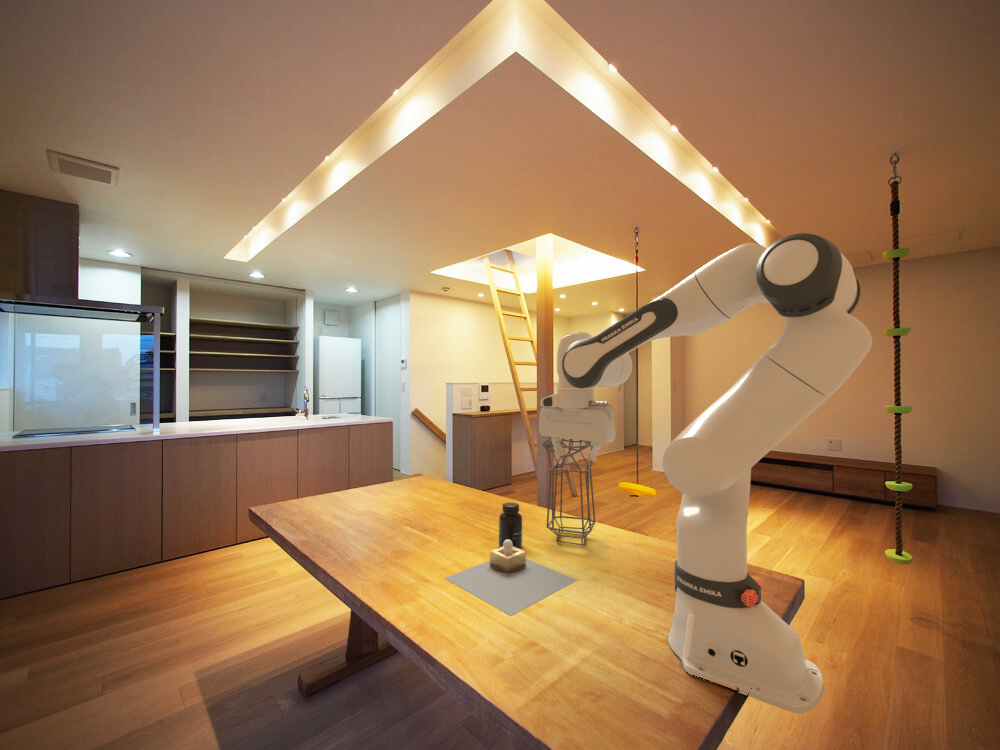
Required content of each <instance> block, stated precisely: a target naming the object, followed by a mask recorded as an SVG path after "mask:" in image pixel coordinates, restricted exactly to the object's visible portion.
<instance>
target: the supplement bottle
mask: <svg viewBox="0 0 1000 750" xmlns="http://www.w3.org/2000/svg"><path fill="white" fill-rule="evenodd" d="M507 539H509V540H511V541H512V543H513V547H515V548H518V549H520V548H522V546H523V516H522V514H521V513H520V505H519V503H517V502H504V503H503V504H502V512H501V513H500V514H499V517H498V545H499V548H500V547H503V543H504V541H505V540H507Z"/></svg>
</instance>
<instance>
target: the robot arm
mask: <svg viewBox="0 0 1000 750" xmlns="http://www.w3.org/2000/svg"><path fill="white" fill-rule="evenodd" d="M860 298H861V286H860V282H859V280H858V279H857V277H856V275H855V273H854V269H853V266H852V264H851V263H850V261H849V260H848V259H847V257H846V256H845V255H844V254H843V253H842V252H841V251H840V250H839V247H837V245H835V244H834V242H832V241H830V239H828V238H825V237H823V236H821V235H817V234H814V233H807V232H805V233H804V232H802V233H801V232H800V233H794V234H789V235H787V236H784V237H781V238H780V239H778V240H776V241H774V242H773V243H772V244H770V245H769V246H768V247H765V246H764V245H761V244H759V243H757V242H746V243H742V244H739V245H737V246H735V247H734V248H731V249H729V250H727V251H726V252H723V253H722V254H720V255H718V256H717V257H715V258H713V259H712V260H710V261H708V262H707V263H705V264H704V265H703V266H701V267H700V268H698V269H697V270H695V271H694V272H692V273H691V274H689V276H687V277H686V278H685V279H683V280H682V281H680V282H679V283H677V284H676V285H674V286H673V287H671V288H670V289H668V290H667V291H666V292H664V293H662V294H661V295H660V296H657V297H656V298H654V299H653V300H651V301H650V302H648V303H646V304H645V305H643V306H641V307H639V308H638V309H636V310H634V311H632V312H631V313H629V314H628V315H626V316H625V317H623V318H622V319H620V320H618V321H617V322H615V323H613V324H612V325H610V326H609V327H608V328H606V329H604V330H602V331H601V332H600V333H598V334H596V335H594V336H593V335H592V334H590V333H589V332H583V331H582V332H581V331H580V332H572V333H570V334H569V333H568V334H566V335H564V336H563V337H561V339H559V343H558V346H557V353H556V354H557V355H556V372H557V377H558V380H557V385H556V393H553V394H550V395H548V396H545V397H543V398H541V399H540V407H542V408H541V410H540V412H539V416H538V417H539V418H538V423H539V424H538V429H539V433H540V435H541V436H542V437H548V438H550V437H551V441H552V444H553V445H554V446H553V448H554V450H555V452H554V455H555V457H556V456H557V457H558V456H559V457H560V456H564V455H565V448H562V447H561V445H560V444H561V443H560V442H559V441H561V439H563V438H565V439H566V440H569V439H573V440H574V441H579V440H584V441H591V446H593V448H592V450H591V449H590V452H587V453H586V456H587V459H586V461H590V462H591V461H593V462H595V461H597V459H598V457H597V456H598V455H597V454H598V452H599V450H600V449H601V447H602V443H604V444H605V443H606V444H607V443H613V442H614V440H615V439H616V438H617V437H616V436H617V435H616V434H617V433H616V425H615V419H614V418H615V409H614V407H613V406H612V405H611V404H610V403H609V402H608V401H605V400H604V401H598V400H595V388H612V387H618V386H621V385H624V384H625V383H626V382H628V381H629V380H630V378H631V376H632V374H633V369H634V361H633V357H632V355H631V352H633V351H634V350H636V349H638V348H639V347H641V346H643V345H644V344H647V343H649V342H651V341H655V340H658V339H663V338H670V337H686V336H687V337H688V336H689V337H690V336H698V335H699V334H702V333H705V332H708V331H710V330H713V329H714V328H717V327H719V326H720V325H722V324H724V323H726V322H727V321H729V320H731V319H732V318H734V317H735V316H737V315H738V314H740V313H741V312H743V311H744V310H746V309H748V308H750V307H753V306H755V305H757V304H758V305H759V304H770V305H771V306H772V307H773V308H774V310H775V311H776V312H777V313H778V315H780V317H781V316H782V317H784V318H785V326H784V328H783V330H782V333H780V335H779V336H778V338H777V339H776V340H775V341H774V342H773V343H772V344H771V345H770V346H769V347H768V348H767V349H766V350H765V351H764V352H763V353H762V354H761V355H760V356H759V358H757V360H755V362H754V363H753V364H752V365H751V366H750V367H749V368H748V369H747V370H746V371H745V372H744V373H743V374H742V375H741V376H740V377H739V378H738V379H737V381H735V383H733V385H732V386H730V388H729V389H728V390H726V391H725V392H724V393H722V395H720V396H719V398H717V399H716V400H715V401H713V403H712V404H711V405H709V406H708V407H707V408H706V409H704V411H702V412H701V413H700V414H699V415H698V416H697V417H696V418H695V419H694V420H692V422H690V423H689V424H688V425H687V426H686V427H685V428H684V429H683V430H682V431H681V432H680V433H679V434H678V435H677V436H675V438H674V439H673V440H671V442H670V443H669V444H668V446H667V447H666V448H665V451H664V453H663V457H662V469H663V473H664V475H665V477H666V479H667V480H668V482H669V483H670V484H671V486H672V487H673V488H675V489H676V490H677V491H679V492H680V493H682V495H681V502H680V506H679V511H678V513H677V517H676V560H675V562H674V570H673V571H674V572H673V581H674V591H675V594H676V595H675V604H674V613H673V618H672V624H671V627H670V631H669V634H668V638H667V640H668V645H669V646H670V648H671V650H672V651H673V652H674V653H675V655H676V656H677V657H678V658H679V659H680V660H681V663H682V666H683V669H684V670H685V672H686V673H687V672H688V673H687V674H689V675H690V676H693V675H695V676H694V677H696V676H697V677H696V678H698V677H701V678H704V679H708V680H711V681H714V682H718V683H722V684H724V685H730V686H737V687H738V688H739V690H740V691H739V692H738V694H742V695H744V696H747V695H748V693H749V695H748V696H747V697H749V698H752V699H754V700H758V701H761V702H763V703H766V704H769V705H771V706H774V707H776V708H779V709H782V710H785V711H787V712H790V713H794V714H803V713H807V712H809V711H812V710H813V709H815V708H816V707H817V706H818V705H819V703H820V701H821V699H822V698H823V694H824V689H825V688H824V687H825V685H824V678H823V674H822V672H821V670H820V669H819V667H818V666H817V665H816V664H815V663H814V662H812V661H810V660H808V659H807V658H806V657H805V653H804V649H803V645H802V642H801V639H800V637H799V635H798V634H797V631H795V629H794V628H792V627H791V626H790V625H789V624H788V623H786V621H785V620H784V619H782V618H781V617H780V616H779V615H778V614H777V613H776V612H775V611H773V609H771V608H770V607H769V606H768V605H767V604H766V603H765V602H764V601H763V600H762V588H763V579H760V580H759V581H758V582H757V581H756V580H755V579H754V578H753V577H752V575H750V573H749V571H748V543H747V542H748V541H747V540H748V532H747V531H748V529H747V528H748V527H747V526H748V517H749V516H748V515H749V507H750V506H749V504H750V496H751V495H750V494H751V479H752V475H751V474H752V468H753V467H754V466H755V465H756V464H757V463H759V461H760V460H761V459H763V458H764V457H765V456H766V455H767V454H768V453H769V452H770V451H771V450H773V449H774V448H775V447H776V446H777V445H778V444H779V443H781V442H782V441H783V440H784V439H785V438H786V437H787V436H789V435H790V434H791V433H792V432H794V430H795V429H796V428H798V427H799V426H800V425H801V424H802V423H803V422H804V421H805V420H806V419H807V418H808V417H809V416H810V415H812V414H813V413H814V412H815V411H816V410H817V409H818V408H819V407H820V406H822V405H823V404H824V402H826V401H827V400H828V399H829V398H830V397H831V396H832V395H834V393H835V392H837V391H838V390H839V388H840V387H842V386H843V384H844V383H845V382H846V381H847V380H848V379H849V377H851V375H852V374H853V373H854V372H855V371H856V369H857V368H858V367H859V366H860V365H861V363H863V361H864V358H866V356H867V355H868V354H869V352H870V350H871V348H872V345H873V338H872V335H871V333H870V331H869V329H868V327H867V326H866V325H865V324H864V323H863V322H862V321H860V320H859V319H858V318H856V317H855V316H853V315H852V313H854V311H855V309H856V308H857V306H858V305H859V302H860ZM561 442H562V441H561ZM701 678H700V679H701ZM704 679H703V680H704ZM751 688H752V689H751Z"/></svg>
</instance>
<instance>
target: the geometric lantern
mask: <svg viewBox="0 0 1000 750" xmlns="http://www.w3.org/2000/svg"><path fill="white" fill-rule="evenodd" d="M559 442H560V445H561V447H562V448H564V449H565V448H566V449H568V451H567V453H566V454H564V456H559V459H558V460H557V458H556V455H555V448H554V449H553V448H552V447H554V445H553V443H552V441H551V437H548V438H547V439H546V440H544V441H543V442H542V443H541V445H542V446H543V448H544V449H545V451H546V452H547V457H548V463H549V481H548V482H549V483H548V497H547V511H546V512H547V514H546V528H547V529H549V530H550V531H551V532H552V533H553V534H554V535H555V536H556V542H558V543H561V544H562V543H563V544H569V545H576V546H577V545H578V546H585V545H586V544H587V538H588V535H589V534H590V533H592V531H593V529H594V527H595V524H596V512H595V500H594V487H593V478H592V466H593V462H594V461H589V460H587V459H586V458H585V456H584V454H583V452H582V451H583V450H586V449H588V448H589V447H590V451H591V450H592V448H593V446H591V441H584V440H574V439H566V438H561V441H559ZM564 442H568V445H567V444H566V443H564ZM573 443H579V445H573ZM582 443H584V444H583V445H582ZM571 451H574V452H572V453H571ZM550 453H552V455H553V457H554V460H555V462H556V463H554V464H553V465H552V462H551V461H552V460H551V454H550ZM578 453H580V454H581V457H582V459H583V460H584V462H585V464H584V463H583V464H582V463H581V464H580V463H577V461H576V460H575V457H574V455H576V454H578ZM568 457H571V459H572V461H573V462H574V463H565V461H566V459H567V458H568ZM561 458H563V460H562V461H561V462H560V460H561ZM559 462H560V463H559ZM564 465H565V466H566V465H567V466H576V467H577V469H578V470H571V469H570V470H569V469H564V468H563V467H564ZM558 466H561V467H560V468H561V469H559V467H558ZM580 466H581V467H582V466H585V467H586V468H585V470H582V469H581V468H580ZM554 472H555V473H554ZM558 472H560V505H559V506H560V508H559V515H557V516H556V507H557V505H556V504H557V486H558V483H557V482H558ZM563 472H566V473H567V472H568V473H569V472H570V473H579V489H580V491H579V492H580V493H579V494H580V510H581V516H580V517H578V516H577V517H576V516H568V515H567V516H566V515H563V513H562V512H563V511H562V510H563V480H564V479H563V478H564V476H563V474H564V473H563ZM582 474H584V475H585V476H584V477H585V490H586V500H587V502H586V503H587V504H586V505H587V517H584V503H583V501H584V499H583V481H582V480H583V478H582ZM554 480H555V481H554ZM590 493H591V504H592V515H593V517H592V518H591V509H590ZM550 500H551V501H550ZM550 504H551V520H550ZM557 519H559V520H560V524H561V525H560V524H559V523H558V521H557ZM562 519H572V520H573V519H574V520H581V527H571V526H563V520H562ZM585 520H586V523H584V522H585ZM555 523H556V524H557V526H558V528H556V527H555V526H554V525H555ZM587 524H588V526H587ZM571 529H573V530H571ZM577 530H578V531H577ZM579 530H581V531H579ZM563 534H564V535H563ZM571 534H572V535H571ZM561 537H562V538H563V537H564V538H573V539H581V541H580V542H581V543H578V542H577V543H576V542H570V541H569V542H568V541H564V540H563V541H562V540H561Z"/></svg>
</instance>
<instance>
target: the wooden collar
mask: <svg viewBox="0 0 1000 750" xmlns="http://www.w3.org/2000/svg"><path fill="white" fill-rule="evenodd" d="M526 555H527V552H526V551H525V550H524V549H520V548H518V547H515V546H513V554H511V555H509V556H507V555H505V554H503V547H500V546H499V547H497V548H495V549H492V550H490V551H489V561H490V564H492V565H495V566H497V567H499V568H501V569H503V570H505V571H510V570H512V569H515V568H517V567H519V566H522V565H524V564H526V559H527V558H526V557H527V556H526Z"/></svg>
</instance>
